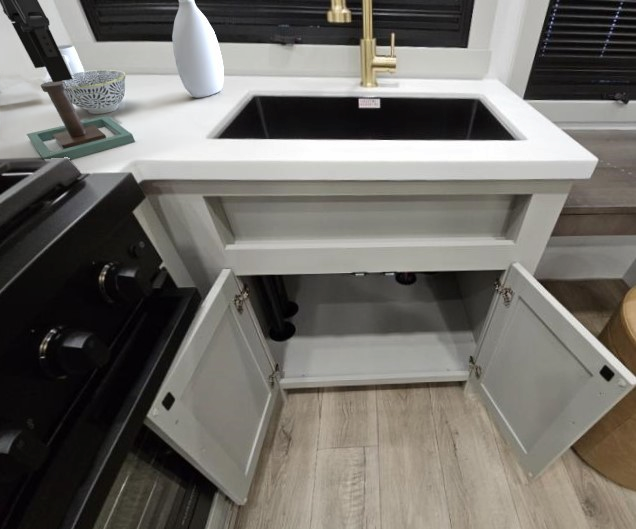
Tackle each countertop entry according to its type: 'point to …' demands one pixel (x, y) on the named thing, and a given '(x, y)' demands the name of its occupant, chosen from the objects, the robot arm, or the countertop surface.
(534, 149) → the countertop surface
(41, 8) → the robot arm
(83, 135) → the peg stand
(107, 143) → the frame
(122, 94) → the bowl
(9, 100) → the countertop surface
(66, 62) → the mug
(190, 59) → the soap bottle
